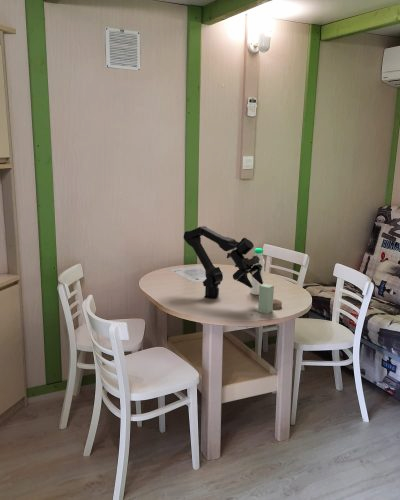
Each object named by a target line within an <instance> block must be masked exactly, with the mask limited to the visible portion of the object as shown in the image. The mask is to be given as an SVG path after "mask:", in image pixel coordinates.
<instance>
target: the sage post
mask: <svg viewBox="0 0 400 500" xmlns="http://www.w3.org/2000/svg"><path fill="white" fill-rule="evenodd" d="M274 290H275V286H274V285H273V284H269V283H264V284H263V285H260V286H259V295H258V306H257V307H258V308H257V312H259V313H263V314H267V315H268V314H269V313H271V312H273V310H274V309H273V299H274V293H275V291H274Z"/></svg>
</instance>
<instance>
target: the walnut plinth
mask: <svg viewBox="0 0 400 500" xmlns="http://www.w3.org/2000/svg"><path fill="white" fill-rule="evenodd" d="M282 305H283V303H282V301H281V300H279V299H275V298H273V310H280V309H282V308H283V307H282Z"/></svg>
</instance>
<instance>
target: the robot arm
mask: <svg viewBox="0 0 400 500" xmlns="http://www.w3.org/2000/svg"><path fill="white" fill-rule="evenodd" d="M202 237H205V238H207V239H209V240H210V241H211V242H214V243H215V244H217V245H218V247H219V248H220V249H222V251H224V252H227V255H226V258H227V259H230V258H231V260H232V261H233V262H234V264H235V265H234V267H235V268H237V270H236V271H235V272H234V273H233V274H232V279H233V280H234V281H236V282H239V283H241V284H243V285H244V286H246V287H248V288H252V287H253V286H252V284H251V280H250V279H249V278H248V274H250V275H251V274H252V277H253V278H255V279H256V280H257V281H258V282H259V283H260V284H263V282H264V280H263V281H262V277H261V270H262V268H263V267H262V265H261V264H256V263H259V260H260V258H259V257H258V256H257V255H256V256H255V255H253V256H252V258H248V257H245V255H247V254H248V253H249V252H251V251H252V250H253V249H254V247H255V246H254V243H253V241H251V240H250V239H247V237H243V238H242V239H241V240H240V241H237V240H236V239H235V238H232V237H229V236H223V235H221V234H219V233H217V232H216V231H214V230H212V229H210V228H208V227H207V226H205V225H203V226H202V225H201V226H198V227H196V228H194V229H191V230H187V231H185V232H184V233H183V240H184V241H185V243H186V244H187V245H189V246H190V247H191V248H192V249H193V251H194V252H195V254H196V256H197V258H198V260H199V262H200V263H201V265H202V266H203V268H204V270H205V275H204V276H205V280H203V281H202V284H203V287H205V290H204V293H205V294H204V298H207V299H217V298H218V297H219V295H220V288H219V285H221V282H223V278H224V275H223V272H222V271H221V268H220V266H218V267H216V266H215V265H214V264H213V263H212V260H211V258H210V257H209V255H208V253H207V252H206V250H205V248H204V247H203V244H202V240H201V239H202ZM254 264H256V265H254Z"/></svg>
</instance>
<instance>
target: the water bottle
mask: <svg viewBox="0 0 400 500" xmlns="http://www.w3.org/2000/svg"><path fill="white" fill-rule="evenodd" d="M253 252H254V256H256V255H257V256H258V257H259V258H260V260H259V263H256V264H261V265H262V267H263V268H262V270H261V277H262V281H263V284H265V283H264V280H265V279H264V277H265V263H266V261H265V259H264V256H263V254H264V249H263V248H262V247H256V248H255V249H254V251H253ZM256 264H254V265H256ZM250 283H251V284H252V286H253V287H252V288H250V287H249V288H250V290H249V291H250V294H252V295H255V296H259V286H260V285H263V284H260V283H259V282H258V281H257V280H256V279H255V278H253V277H252V274H250Z"/></svg>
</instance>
